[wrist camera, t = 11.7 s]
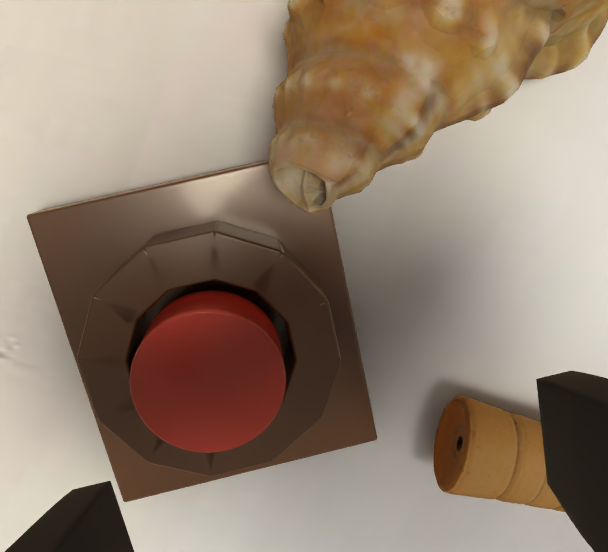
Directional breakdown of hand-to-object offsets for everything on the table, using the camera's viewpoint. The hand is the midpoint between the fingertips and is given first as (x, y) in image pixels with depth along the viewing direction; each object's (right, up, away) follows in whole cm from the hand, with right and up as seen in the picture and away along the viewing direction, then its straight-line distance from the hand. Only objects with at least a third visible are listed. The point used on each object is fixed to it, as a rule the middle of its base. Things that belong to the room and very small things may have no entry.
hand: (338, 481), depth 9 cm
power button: (-3, +1, +5) cm, 6 cm away
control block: (-3, +2, +8) cm, 9 cm away
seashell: (+3, +11, +7) cm, 13 cm away
